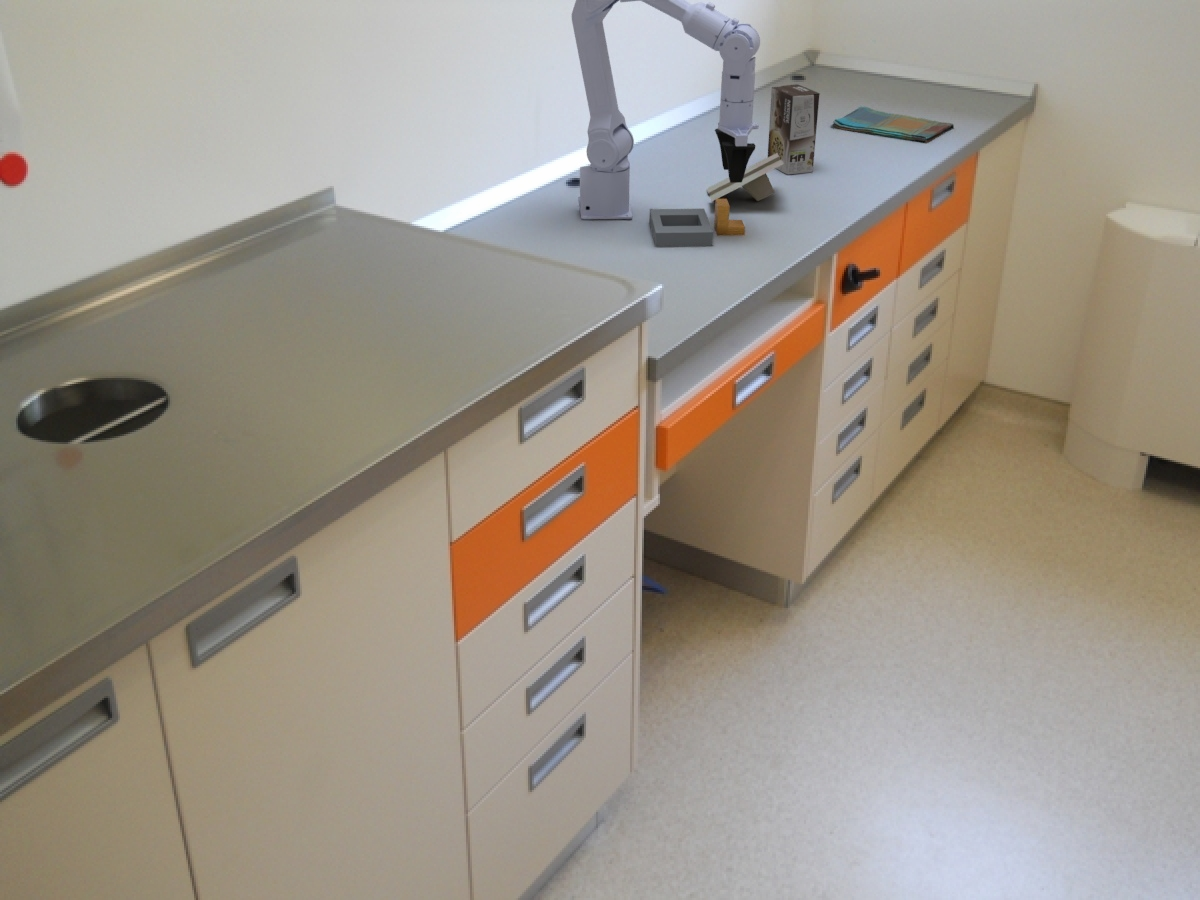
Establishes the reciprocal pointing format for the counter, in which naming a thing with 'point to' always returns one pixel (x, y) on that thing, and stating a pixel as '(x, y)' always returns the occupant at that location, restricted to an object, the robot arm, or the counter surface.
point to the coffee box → (793, 127)
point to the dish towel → (891, 125)
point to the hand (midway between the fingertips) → (732, 175)
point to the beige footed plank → (750, 180)
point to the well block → (680, 227)
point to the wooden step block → (726, 220)
